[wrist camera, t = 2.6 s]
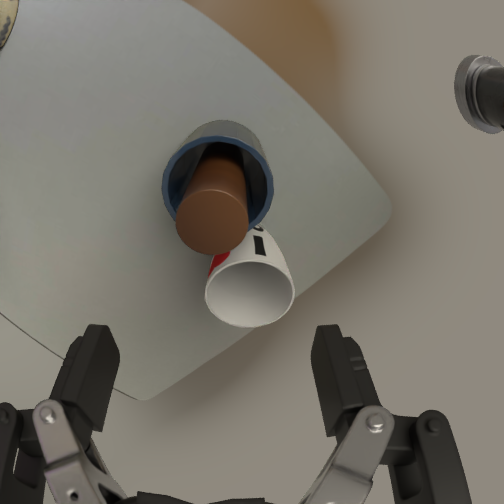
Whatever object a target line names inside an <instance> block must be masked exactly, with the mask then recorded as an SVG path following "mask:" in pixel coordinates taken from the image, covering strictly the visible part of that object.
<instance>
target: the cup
mask: <svg viewBox="0 0 504 504" xmlns="http://www.w3.org/2000/svg"><path fill="white" fill-rule="evenodd" d="M294 296H295V288H294V284H293V281H292V278H291V275H290V273H289V270H288V267H287V264H286V261H285V258H284V256H283V254H282V252H281V251H280V249H279V247H278V246H277V244H276V242H275V240H274V239H273V237H272V236H271V235H270V234H269V233H268V232H267V231H266V230H265V229H264V228H263V227H262V226H260V225H259V224H257V225H256V226H255V227H254V228H252V229H251V230H250V231H249V232H247V234H246V236H245V238H244V239H243V241H242V242H241V243H240V244H239V245H238V246H237V247H236V248H234V249H233V250H231V251H229V252H226V253H223V254H219V255H214V256H213V258H212V261H211V265H210V270H209V275H208V279H207V284H206V289H205V300H206V304H207V306H208V308H209V310H210V311H211V312H212V313H213V314H214V315H215V316H216V317H217V318H218V319H220V320H221V321H223V322H225V323H227V324H230V325H233V326H237V327H245V328H252V327H260V326H264V325H267V324H270V323H272V322H274V321H276V320H278V319H279V318H280V317H282V316H283V315H284V314H285V313H286V312H287V311H288V310H289V308H290V307H291V305H292V303H293V301H294Z"/></svg>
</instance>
